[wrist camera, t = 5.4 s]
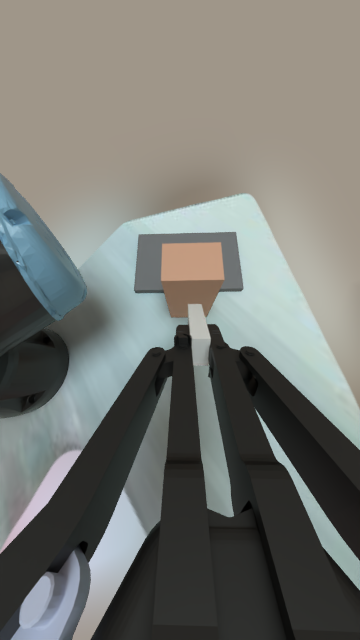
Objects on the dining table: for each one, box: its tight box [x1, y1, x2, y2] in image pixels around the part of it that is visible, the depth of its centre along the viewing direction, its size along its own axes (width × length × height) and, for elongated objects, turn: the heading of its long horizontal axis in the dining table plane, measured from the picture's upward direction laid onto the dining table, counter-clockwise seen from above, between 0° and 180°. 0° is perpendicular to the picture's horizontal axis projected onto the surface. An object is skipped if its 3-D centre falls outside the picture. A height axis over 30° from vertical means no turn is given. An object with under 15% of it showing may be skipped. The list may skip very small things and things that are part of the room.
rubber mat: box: [134, 232, 243, 293], centre depth 33 cm, size 22×14×1 cm, turn 90°
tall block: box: [161, 242, 225, 317], centre depth 24 cm, size 7×5×14 cm
